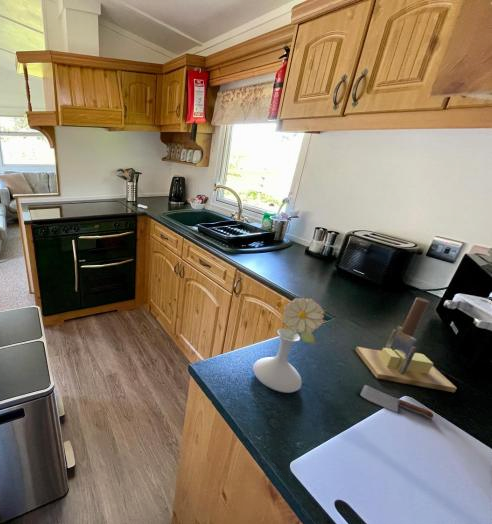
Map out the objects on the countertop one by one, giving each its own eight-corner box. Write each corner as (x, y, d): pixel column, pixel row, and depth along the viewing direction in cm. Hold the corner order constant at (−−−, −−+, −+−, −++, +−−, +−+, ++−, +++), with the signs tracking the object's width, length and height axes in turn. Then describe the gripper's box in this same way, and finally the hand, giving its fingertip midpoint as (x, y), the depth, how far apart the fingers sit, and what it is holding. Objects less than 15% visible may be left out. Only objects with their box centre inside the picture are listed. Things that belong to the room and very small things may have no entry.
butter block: (418, 364, 81) (423, 354, 80) (428, 374, 78) (433, 363, 76) (389, 359, 82) (394, 349, 81) (398, 368, 79) (403, 358, 78)
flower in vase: (243, 366, 77) (263, 282, 69) (279, 362, 80) (303, 281, 71) (274, 406, 66) (303, 310, 57) (315, 399, 68) (350, 307, 59)
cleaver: (360, 394, 70) (364, 380, 73) (358, 398, 71) (362, 384, 74) (434, 428, 62) (434, 411, 65) (431, 432, 63) (431, 415, 66)
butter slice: (386, 358, 83) (391, 348, 81) (395, 368, 79) (400, 357, 78) (378, 357, 83) (383, 347, 82) (386, 366, 79) (391, 356, 78)
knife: (397, 344, 82) (419, 295, 76) (411, 358, 76) (437, 306, 70) (386, 342, 82) (408, 293, 77) (400, 357, 76) (425, 304, 71)
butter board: (422, 362, 85) (437, 333, 81) (454, 392, 74) (473, 361, 70) (355, 350, 88) (366, 322, 84) (376, 378, 77) (390, 347, 73)
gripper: (494, 292, 79) (436, 284, 81) (582, 334, 60) (504, 323, 63) (482, 312, 81) (426, 304, 84) (564, 359, 63) (489, 347, 65)
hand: (460, 312), depth 73 cm, fingers open, 8 cm apart
